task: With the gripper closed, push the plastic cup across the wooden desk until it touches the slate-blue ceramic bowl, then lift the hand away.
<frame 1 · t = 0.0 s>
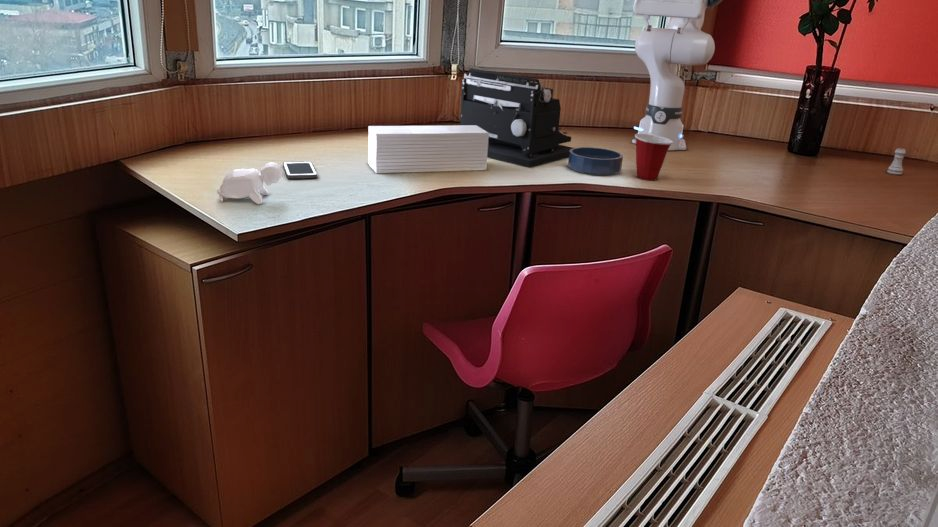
hand: (663, 32, 216), 39 cm above the table, tool pointing down, fingers open, 8 cm apart
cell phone: (299, 172, 191), on the table
bowl: (593, 169, 213), on the table
white animal figurine: (252, 199, 167), on the table
plastic cup: (647, 178, 207), on the table
stack of papers: (427, 167, 204), on the table
typewriter: (514, 152, 229), on the table
rook chess piece: (894, 174, 232), on the table
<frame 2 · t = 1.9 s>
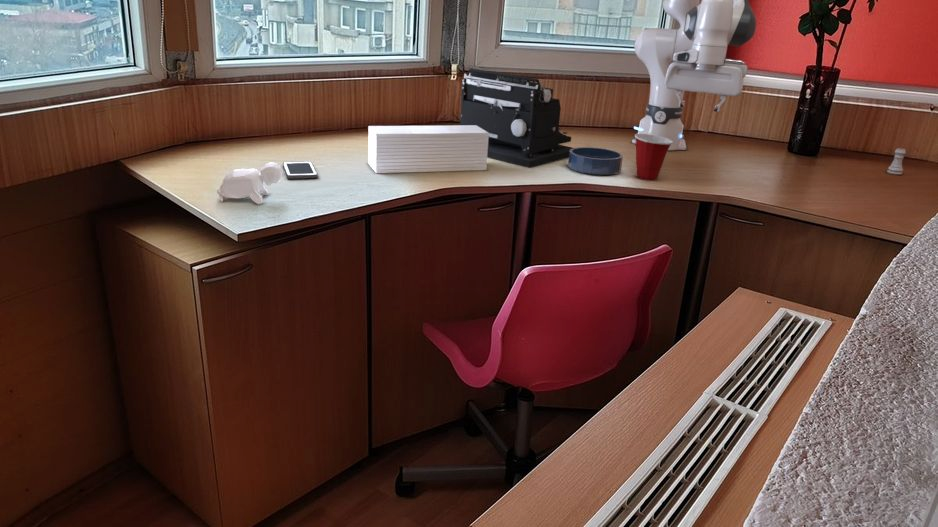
hand: (698, 109, 195), 21 cm above the table, tool pointing down, fingers open, 8 cm apart
nothing on the table moved.
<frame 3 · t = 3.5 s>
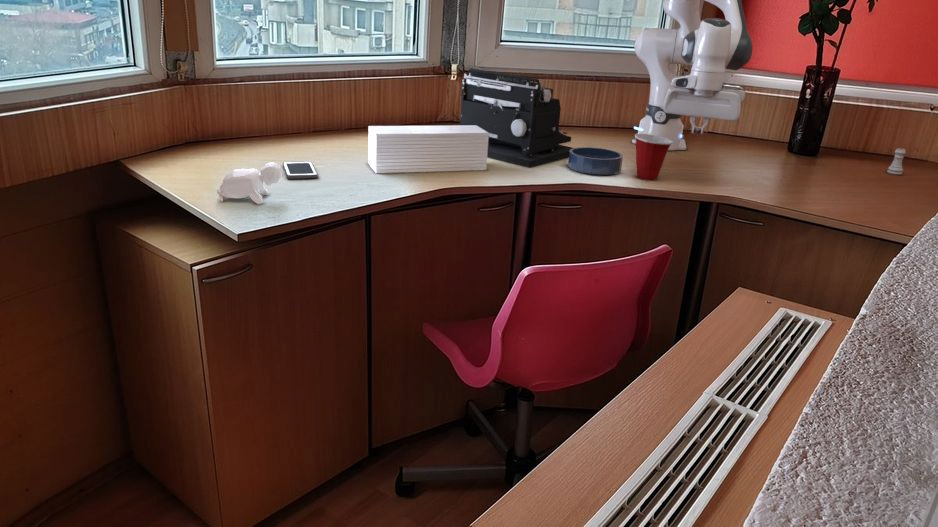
hand: (697, 133, 197), 15 cm above the table, tool pointing down, fingers closed
nothing on the table moved.
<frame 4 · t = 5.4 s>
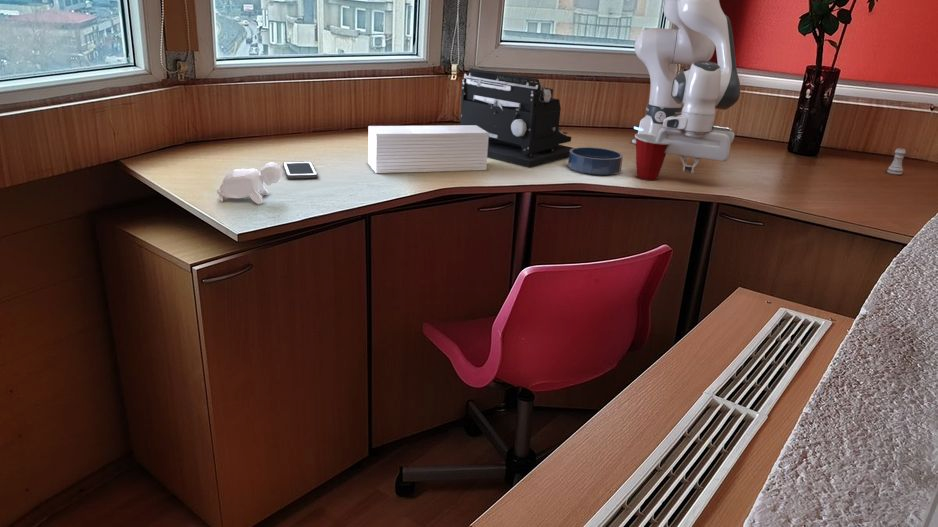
hand: (688, 172, 202), 4 cm above the table, tool pointing down, fingers closed
nothing on the table moved.
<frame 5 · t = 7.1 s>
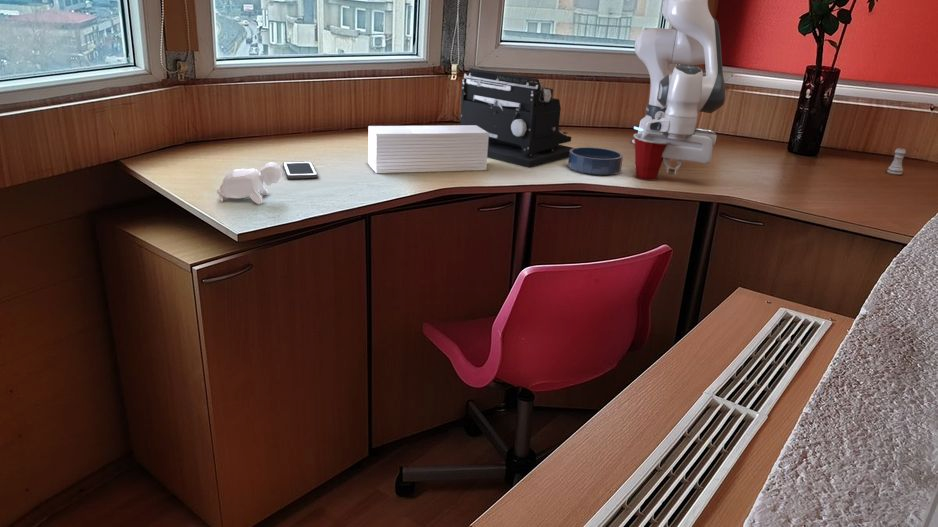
hand: (671, 174, 204), 2 cm above the table, tool pointing down, fingers closed
plastic cup: (646, 178, 207), on the table, touching gripper
everything else where it was.
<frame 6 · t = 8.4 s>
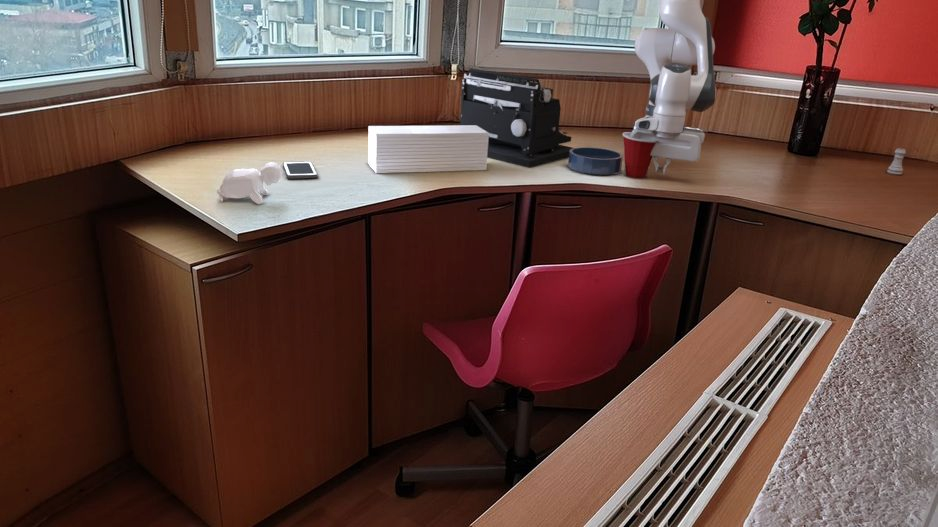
hand: (660, 172, 205), 2 cm above the table, tool pointing down, fingers closed
plastic cup: (636, 176, 208), on the table, touching gripper
everything else where it was.
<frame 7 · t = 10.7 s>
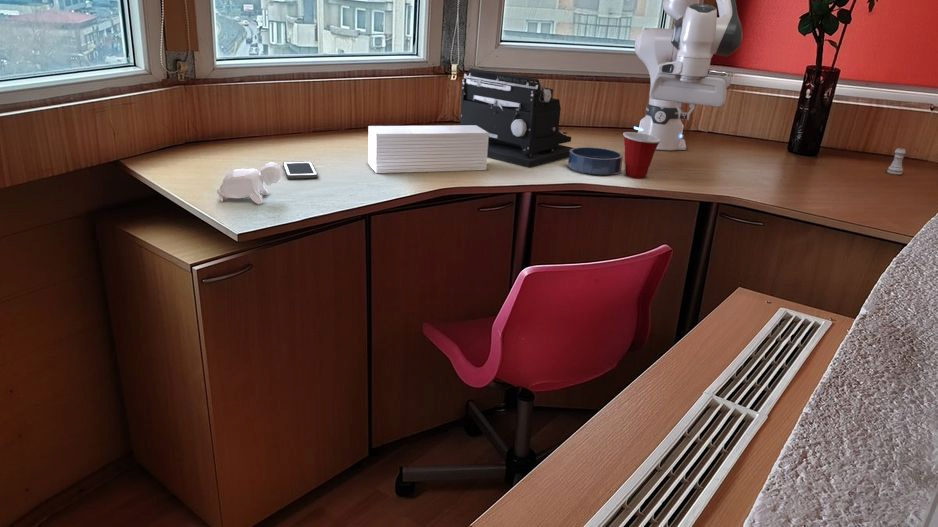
hand: (683, 119, 199), 18 cm above the table, tool pointing down, fingers closed
plastic cup: (636, 177, 208), on the table
everything else where it was.
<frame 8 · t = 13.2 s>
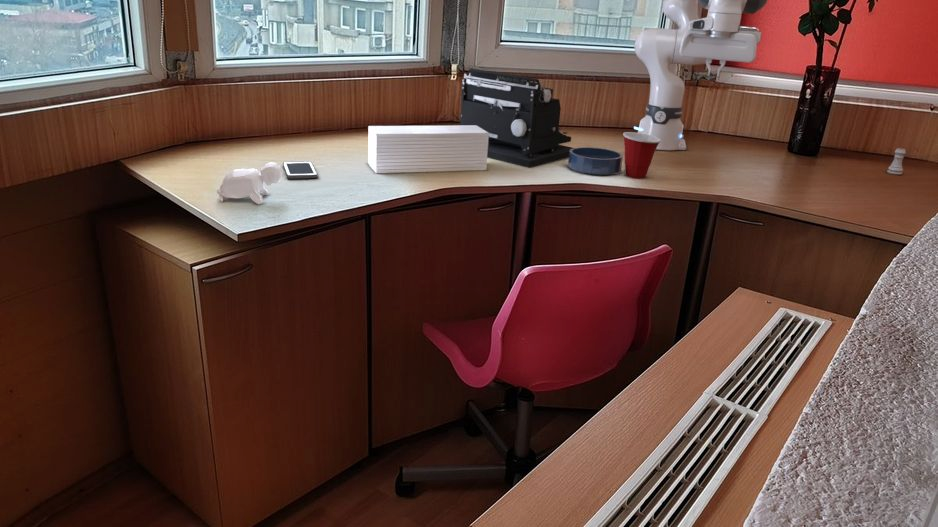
hand: (713, 76, 201), 29 cm above the table, tool pointing down, fingers closed
nothing on the table moved.
at the end: plastic cup 12.7 cm from the bowl (horizontally); plastic cup moved 3.3 cm from its start; plastic cup tilted 0° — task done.
